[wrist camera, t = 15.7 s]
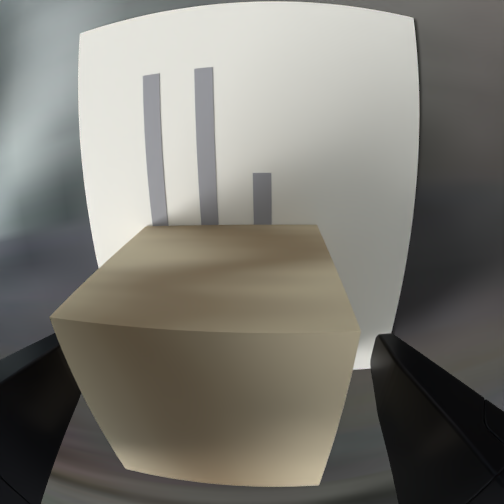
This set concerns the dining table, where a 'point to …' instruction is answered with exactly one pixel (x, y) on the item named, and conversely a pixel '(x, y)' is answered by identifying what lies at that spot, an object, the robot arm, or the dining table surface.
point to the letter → (259, 133)
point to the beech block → (215, 352)
